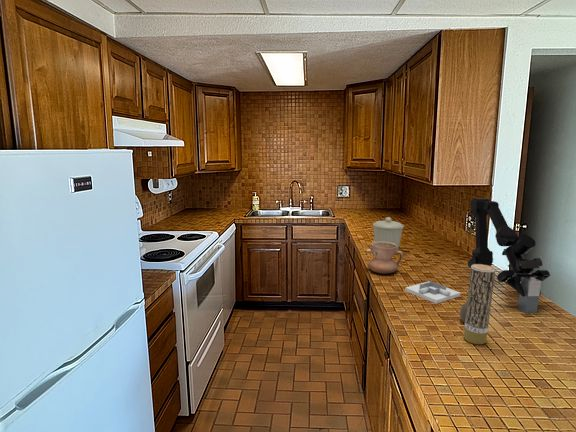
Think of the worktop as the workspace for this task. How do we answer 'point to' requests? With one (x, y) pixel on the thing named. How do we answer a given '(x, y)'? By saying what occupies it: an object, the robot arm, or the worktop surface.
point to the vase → (463, 312)
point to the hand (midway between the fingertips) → (531, 296)
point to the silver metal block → (529, 295)
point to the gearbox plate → (432, 292)
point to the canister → (388, 231)
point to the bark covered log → (479, 303)
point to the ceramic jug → (384, 257)
